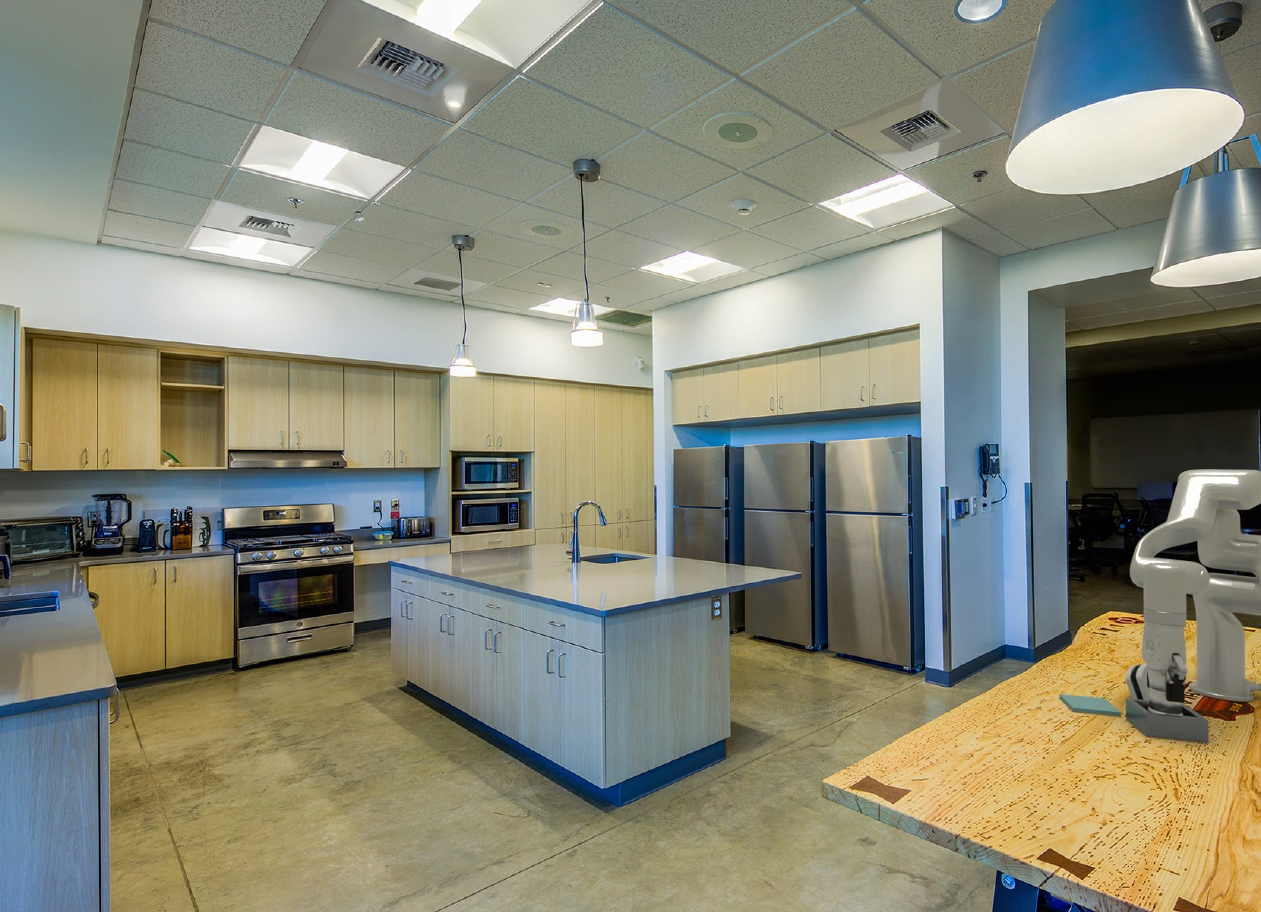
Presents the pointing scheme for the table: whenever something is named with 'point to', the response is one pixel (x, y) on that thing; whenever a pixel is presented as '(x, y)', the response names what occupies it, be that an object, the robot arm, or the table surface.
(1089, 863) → the table surface
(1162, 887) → the table surface
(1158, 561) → the robot arm
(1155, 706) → the plastic bottle
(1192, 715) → the square socket
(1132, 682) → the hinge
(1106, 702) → the board
